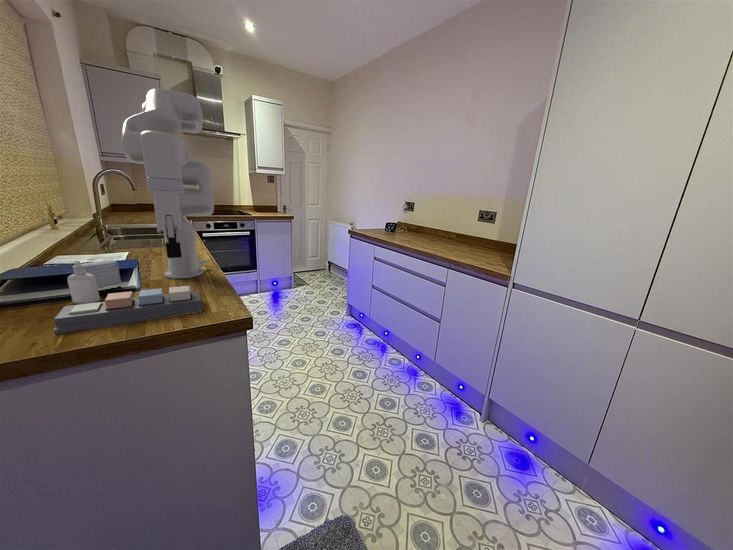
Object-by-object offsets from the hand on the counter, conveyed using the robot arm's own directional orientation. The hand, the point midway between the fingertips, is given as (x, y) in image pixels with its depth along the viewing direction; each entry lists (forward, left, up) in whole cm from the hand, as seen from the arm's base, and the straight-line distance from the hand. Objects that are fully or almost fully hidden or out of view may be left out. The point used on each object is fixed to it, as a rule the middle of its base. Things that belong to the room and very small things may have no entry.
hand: (174, 256), depth 77 cm
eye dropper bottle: (+6, -26, -15) cm, 31 cm away
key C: (+14, -14, -14) cm, 24 cm away
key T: (+4, -5, -12) cm, 13 cm away
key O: (+9, -9, -12) cm, 17 cm away
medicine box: (-3, -32, -15) cm, 35 cm away
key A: (0, 0, -12) cm, 12 cm away
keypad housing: (+7, -7, -15) cm, 18 cm away
